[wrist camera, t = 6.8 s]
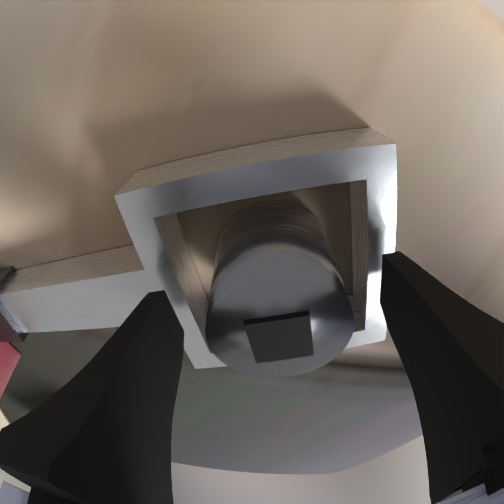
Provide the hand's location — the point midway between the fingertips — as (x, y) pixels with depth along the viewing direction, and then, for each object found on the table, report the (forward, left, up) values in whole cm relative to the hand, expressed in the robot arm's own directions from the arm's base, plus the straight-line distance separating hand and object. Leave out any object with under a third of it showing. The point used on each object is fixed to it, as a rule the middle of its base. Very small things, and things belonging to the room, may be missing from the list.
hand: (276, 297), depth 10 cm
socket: (0, 0, -3) cm, 3 cm away
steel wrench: (+6, 0, -3) cm, 7 cm away
